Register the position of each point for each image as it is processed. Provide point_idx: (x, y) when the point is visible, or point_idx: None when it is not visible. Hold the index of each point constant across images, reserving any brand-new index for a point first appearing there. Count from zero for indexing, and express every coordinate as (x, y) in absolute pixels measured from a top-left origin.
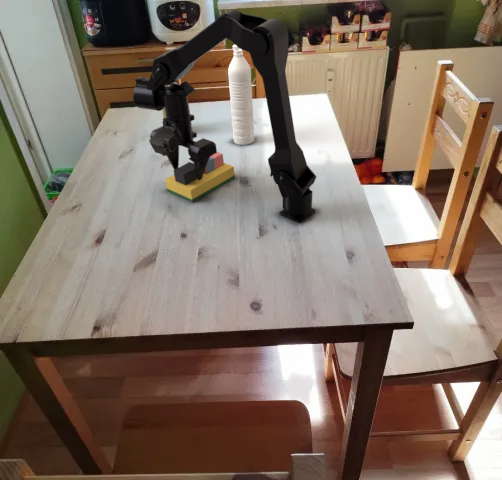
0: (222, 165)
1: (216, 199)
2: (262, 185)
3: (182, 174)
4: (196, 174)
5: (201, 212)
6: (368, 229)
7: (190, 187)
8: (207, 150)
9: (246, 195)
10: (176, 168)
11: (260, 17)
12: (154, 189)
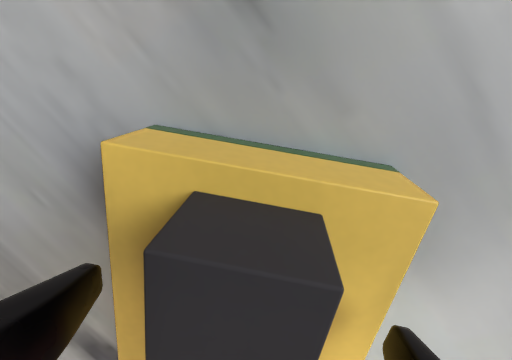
0: None
1: (79, 208)
2: None
3: (166, 251)
4: (44, 300)
5: (27, 55)
6: None
7: (137, 181)
8: None
9: (12, 282)
10: (393, 348)
11: None
12: (502, 146)
